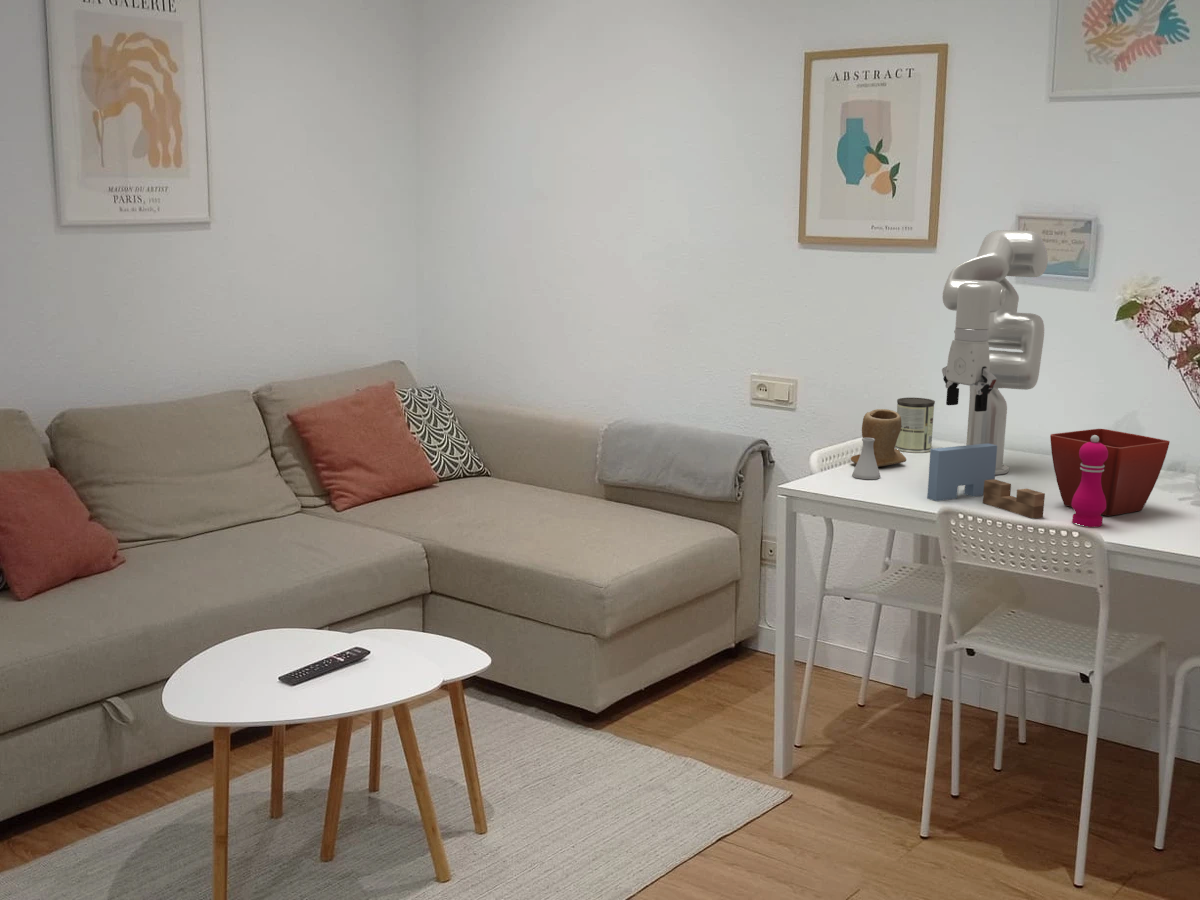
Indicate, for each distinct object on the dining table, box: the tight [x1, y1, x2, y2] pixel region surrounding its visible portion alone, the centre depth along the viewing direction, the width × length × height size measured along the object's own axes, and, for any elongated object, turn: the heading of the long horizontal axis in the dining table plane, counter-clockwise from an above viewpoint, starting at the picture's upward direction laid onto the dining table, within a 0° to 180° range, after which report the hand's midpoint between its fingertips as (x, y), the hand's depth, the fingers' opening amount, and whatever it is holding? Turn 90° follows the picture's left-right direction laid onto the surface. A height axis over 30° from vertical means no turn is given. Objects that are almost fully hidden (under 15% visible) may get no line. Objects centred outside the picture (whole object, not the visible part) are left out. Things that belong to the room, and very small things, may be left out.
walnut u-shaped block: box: [982, 478, 1046, 519], centre depth 301 cm, size 16×3×6 cm, turn 27°
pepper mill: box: [1071, 435, 1108, 528], centre depth 288 cm, size 7×7×20 cm
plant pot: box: [1049, 428, 1170, 517], centre depth 303 cm, size 19×19×17 cm
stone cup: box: [850, 408, 907, 468], centre depth 347 cm, size 15×12×15 cm
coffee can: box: [895, 397, 936, 454], centre depth 369 cm, size 10×10×14 cm
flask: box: [851, 437, 882, 480], centre depth 333 cm, size 7×7×10 cm
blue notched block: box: [926, 443, 997, 502], centre depth 313 cm, size 18×3×12 cm, turn 117°
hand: (966, 407), depth 310 cm, fingers open, 9 cm apart
